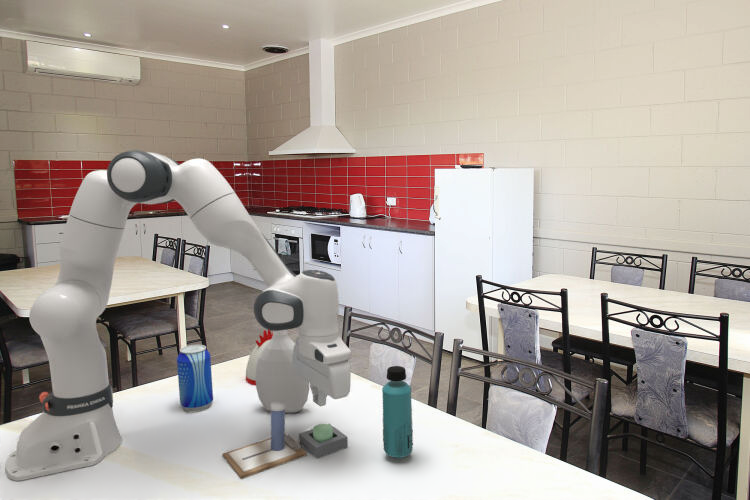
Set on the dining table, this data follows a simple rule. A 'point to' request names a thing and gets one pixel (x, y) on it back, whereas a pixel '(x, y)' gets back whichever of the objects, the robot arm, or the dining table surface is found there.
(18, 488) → the dining table surface
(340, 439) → the button housing
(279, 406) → the marker
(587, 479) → the dining table surface
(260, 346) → the kitchen timer
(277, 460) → the clipboard
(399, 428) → the beverage bottle
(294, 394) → the soap bottle
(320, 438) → the button
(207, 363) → the beer can
